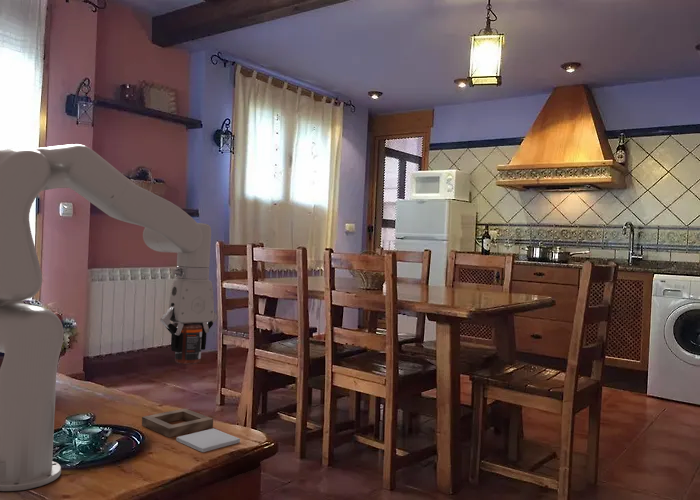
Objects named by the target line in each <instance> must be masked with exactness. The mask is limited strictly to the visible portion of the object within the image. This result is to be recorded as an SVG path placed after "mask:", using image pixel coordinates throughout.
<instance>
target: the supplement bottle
mask: <svg viewBox="0 0 700 500" xmlns="http://www.w3.org/2000/svg"><path fill="white" fill-rule="evenodd" d="M180 335H182V351H181V352H175V355H174V361H175V363H177V364H179V365H196V364H199V363H201V359H202V350H201V343H202V326H201V325H200V324H199V323H184V325H183V328H182V330H181V333H180Z"/></svg>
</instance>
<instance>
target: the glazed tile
mask: <svg viewBox="0 0 700 500" xmlns="http://www.w3.org/2000/svg"><path fill="white" fill-rule="evenodd" d="M175 437H176V442H178V443H180V444H183V445H185V446H188V447H189V448H192V449H194V450H196V451H199V452H200V453H206V452H210V451H212V450H213V451H214V450H216V449H219V448H220V449H221V448H224V447H228V446H231V445H235V444H239V443H241V438H239V437H236V436H234V435H231V434H229V433H226V432H224V431H221V430H219V429H217V428H214V427H212V428H208V429H203V430H199V431H195V432H191V433H189V434H188V433H187V434H183V435H178V436H175Z"/></svg>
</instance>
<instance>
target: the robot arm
mask: <svg viewBox="0 0 700 500" xmlns="http://www.w3.org/2000/svg"><path fill="white" fill-rule="evenodd" d="M55 189H70V190H72V191H74V192H75V193H77V194H78V195H79V196H81V197H83V198H84V199H85V200H86V201H87V202H89V203H90V204H92V205H93V206H95V207H96V208H97V209H99V210H100V211H102V212H103V213H104V214H106V215H107V216H109V217H110V218H113V219H115V220H118V221H121V222H125V223H128V224H132V225H137V226H140V227H143V232H142V240H143V242H144V244H145V246H147V247H148V248H149V249H151V250H153V251H155V252H159V253H175V254H177V257H176V266H175V267H176V269H173V270H172V272H171V273H172V275H173V276H175V279H173V281H172V285H171V290H170V295H169V302H168V309H167V311H166V312H165V313H164V314H163V315H162V316H161V318H160V319H159V321H160V322H161V324H162V325H163V326H164V327H165V328H166V330H167V331H168V332H169V334H171V338H170V339H171V340H170V349H171V352H181V351H182V335H180V333H181V330H182V328H183V325H184V323H199V324H200V325H201V326H202V343H201V351H204V350H206V345H207V334H208V333H209V332H210V329H211V328H212V327H213V325H214V324H215V322H216V321H217V320H218V318H219V315H217V313H216V312H215V303H214V301H215V298H214V288H213V282H212V280H209V279H210V261H211V247H212V246H211V244H212V243H211V242H212V228H211V225H209V224H207V223H204V222H203V223H202V222H197V221H196V219H194V218H193V217H192V216H191V215H190V214H188V213H187V212H186V211H185V210H183V209H182V208H181V207H180V206H178V205H177V204H174V203H173V202H172V201H169V200H168V199H166V198H164V197H161V196H160V195H158V194H155V193H153V192H151V191H150V190H149V189H146V188H143V187H141V186H139V185H137V184H136V183H134V182H133V181H132V180H131V179H129V178H128V177H126V175H124V174H123V173H122V172H120V170H118V169H117V168H116V167H114V166H113V165H112V164H111V163H109V162H108V161H107V160H106V159H104V158H103V157H102V156H101V155H99V153H97V152H96V151H95V150H93V149H92V148H91V147H88V146H86V145H84V144H79V143H75V144H73V143H71V144H63V145H62V144H61V145H53V146H52V145H51V146H47V147H46V146H45V147H37V148H27V147H17V148H16V147H14V148H7V149H0V353H2V354H3V353H4V356H3V359H2V363H1V366H0V492H18V491H25V490H30V489H35V488H39V487H42V486H44V485H47V484H51V483H52V482H54V481H55V480H57V479H58V478H59V477H60V476H61V474H62V466H61V465H60V464H59V463H58V462H56V461H53V454H54V434H55V433H54V432H55V415H56V414H55V412H56V394H57V393H56V391H57V390H56V387H57V386H56V385H57V372H58V365H59V359H60V354H61V350H62V346H63V344H64V343H63V342H64V334H65V333H64V326H63V323H62V321H61V319H60V318H59V317H58V315H57V314H56V313H54V312H53V311H52V310H50V309H49V308H46V307H42V306H39V305H32V304H29V303H28V304H27V303H25V302H24V301H27V300H29V299H32V298H34V297H35V296H36V295H37V294H38V293H39V292H40V290H41V288H42V284H43V274H42V269H41V265H40V261H39V257H38V253H37V249H36V246H35V243H34V238H33V234H32V231H31V224H30V213H31V209H32V206H33V203H34V201H35V200H36V199H37V197H38V195H39V194H40V193H41V192H42V191H49V190H55Z"/></svg>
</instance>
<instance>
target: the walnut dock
mask: <svg viewBox="0 0 700 500" xmlns="http://www.w3.org/2000/svg"><path fill="white" fill-rule="evenodd" d="M180 420H182V421H183V422H179V423H175V424H171V422H176V421H177V422H178V421H180ZM141 426H143V427H144V428H148V429H149V430H152V431H154V432H156V433H158V434H161V435H163V436H165V437H166V438H173V437H178V436H182V435H187V434H188V433H189V434H191V433H195V432H199V431H204V430H208V429H212V428H214V418H212V417H209V416H207V415H204V414H201V413H198V412H196V411H193V410H191V409H188V408H186V407H185V408H179V409H176V410H175V409H174V410H169V411H165V412H160V413H154V414H150V415H144V416H142V417H141Z"/></svg>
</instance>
